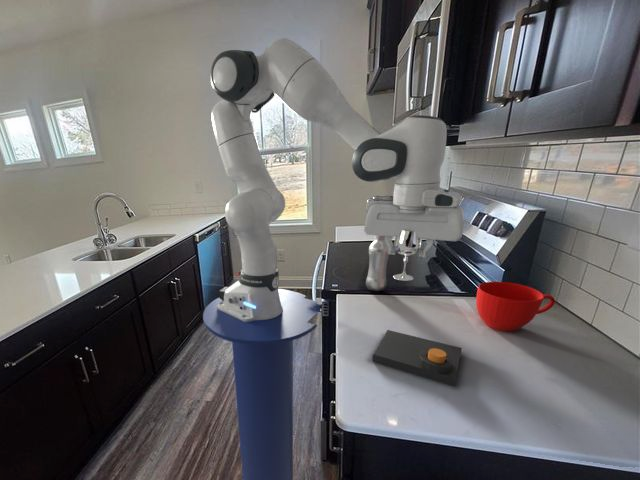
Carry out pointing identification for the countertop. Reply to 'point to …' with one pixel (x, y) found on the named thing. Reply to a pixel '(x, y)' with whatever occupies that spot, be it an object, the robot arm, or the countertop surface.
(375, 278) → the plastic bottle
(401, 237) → the wineglass
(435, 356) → the button
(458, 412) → the countertop surface
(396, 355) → the dark grey button box
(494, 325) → the ceramic cup
